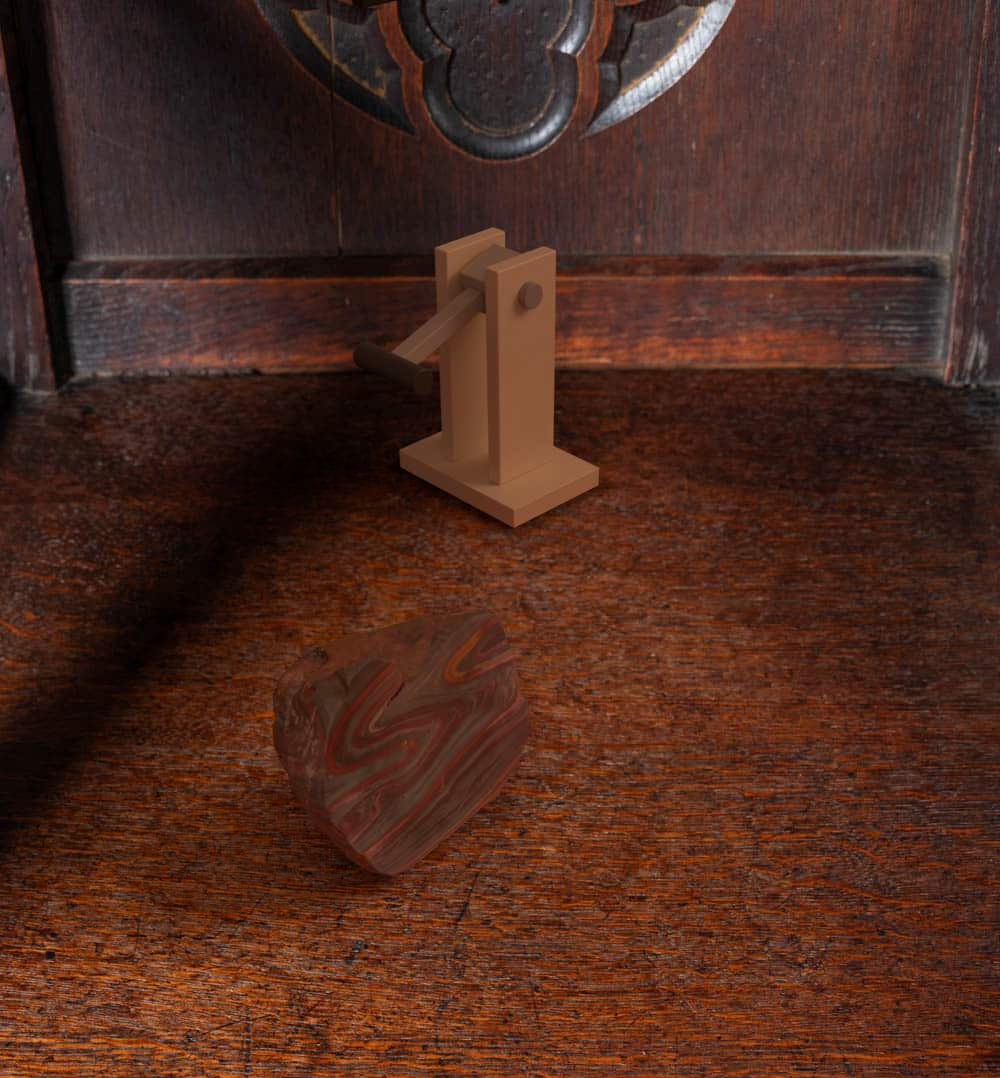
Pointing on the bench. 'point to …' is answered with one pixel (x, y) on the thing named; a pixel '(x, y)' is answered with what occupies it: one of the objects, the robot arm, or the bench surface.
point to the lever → (432, 330)
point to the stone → (401, 733)
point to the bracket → (500, 391)
